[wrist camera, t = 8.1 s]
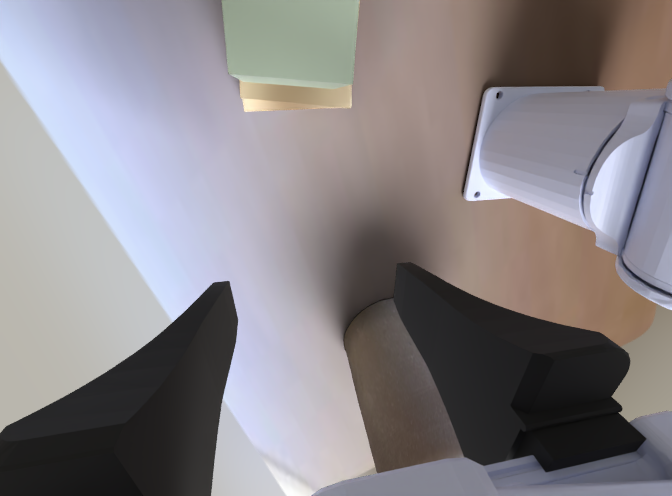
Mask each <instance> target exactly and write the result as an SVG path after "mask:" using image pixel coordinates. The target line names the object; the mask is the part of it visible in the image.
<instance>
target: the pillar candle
mask: <svg viewBox="0 0 672 496" xmlns="http://www.w3.org/2000/svg"><path fill="white" fill-rule="evenodd" d="M393 300H394V298H392V299H387V300H383V301H379V302H377V303H375V304H373V305H371V306H369V307H367V308H366V309H365V310H363V311H362V312H360V314H358V315H357V316H356V318H354V320H353V321H352V322H351V324H350V326H349V327H348V329H347V331H346V333H345V337H344V347H345V350H346V353H347V357H348V361H349V365H350V369H351V373H352V378H353V382H354V386H355V391H356V394H357V398H358V403H359V406H360V410H361V414H362V417H363V421H364V425H365V429H366V432H367V436H368V440H369V444H370V448H371V452H372V456H373V459H374V463H375V467H376V470H377V473H382V472H386V471H391V470H396V469H400V468H405V467H410V466H414V465H419V464H424V463H428V462H433V461H438V460H442V459H448V458H464V456H463V453H462V450H461V447H460V444H459V442H458V439H457V437H456V434H455V431H454V429H453V426H452V423H451V421H450V418H449V416H448V413H447V411H446V408H445V406H444V403H443V401H442V399H441V396H440V394H439V391H438V389H437V387H436V385H435V382H434V380H433V378H432V375H431V373H430V371H429V369H428V367H427V365H426V363H425V361H424V359H423V358H422V356H421V354H420V352H419V351H418V349H417V347H416V345H415V344H414V342H413V340H412V338H411V337H410V335H409V333H408V331H407V330H406V328H405V326H404V324H403V322H402V321H401V319H400V316H399V314H398V311H397V309H396V306H395V303H394V301H393Z"/></svg>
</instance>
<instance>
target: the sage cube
mask: <svg viewBox="0 0 672 496" xmlns="http://www.w3.org/2000/svg"><path fill="white" fill-rule="evenodd" d="M221 1H222V11H223V22H224V32H225V43H226V54H227V64H228V74H230V75H232V76H234V77H235V78H237V79H239V80H241V81H243V82H251V83H264V84H276V85H289V86H301V87H314V88H326V89H336V88H340V87H344V86H348V85H352V84H353V75H354V62H355V49H356V36H357V23H358V10H359V0H221Z"/></svg>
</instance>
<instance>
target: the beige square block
mask: <svg viewBox="0 0 672 496" xmlns="http://www.w3.org/2000/svg"><path fill="white" fill-rule="evenodd" d="M359 5H360V0H359ZM358 15H359V10H358ZM357 26H358V23H357ZM239 81H240V98H244V99H254V100H264V101H275V102H285V103H295V104H306V105H316V106H327V107H337V108H349V109H350V98H351V88H352V85H348V86H344V87H340V88H336V89H326V88H314V87H301V86H289V85H276V84H264V83H251V82H243V81H241V80H239Z"/></svg>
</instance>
